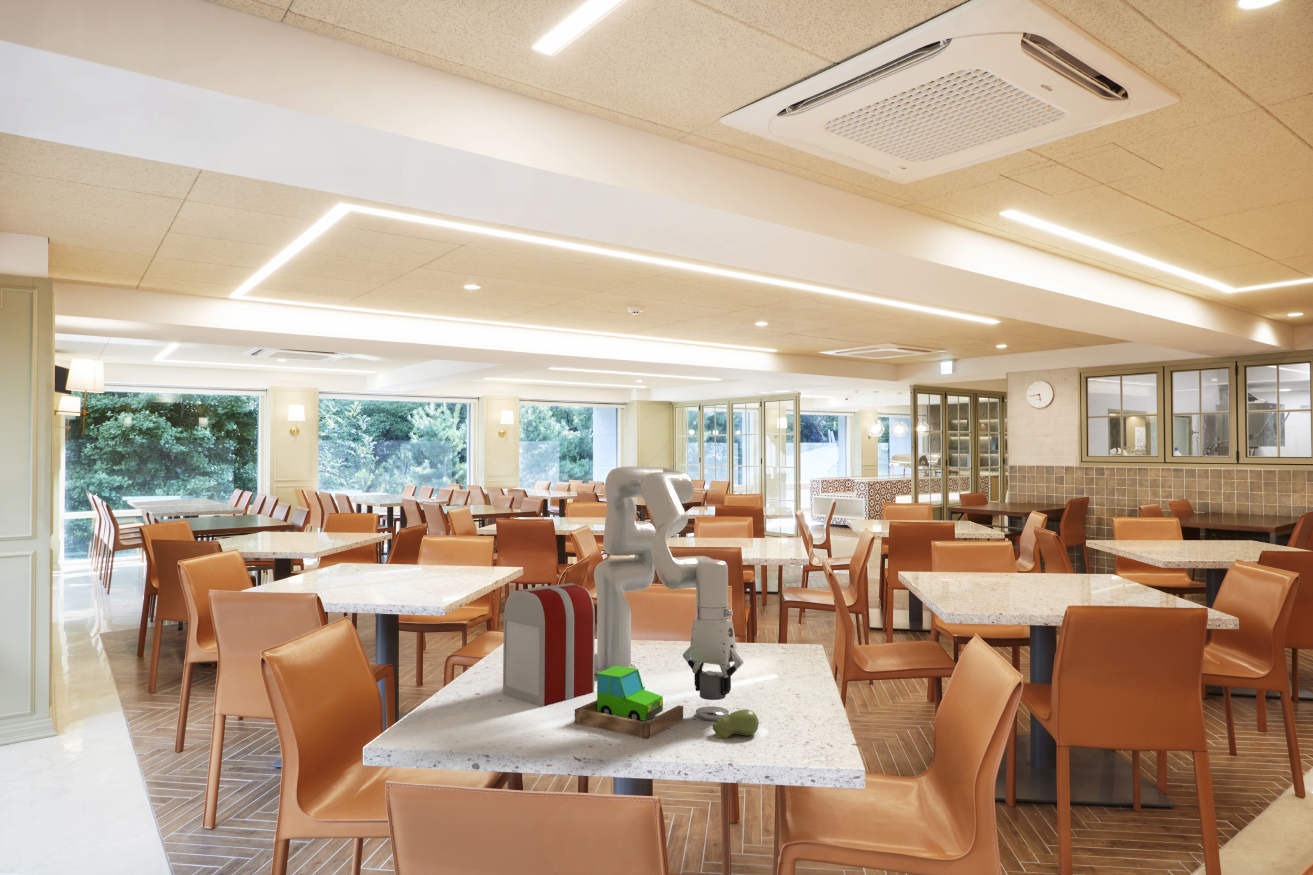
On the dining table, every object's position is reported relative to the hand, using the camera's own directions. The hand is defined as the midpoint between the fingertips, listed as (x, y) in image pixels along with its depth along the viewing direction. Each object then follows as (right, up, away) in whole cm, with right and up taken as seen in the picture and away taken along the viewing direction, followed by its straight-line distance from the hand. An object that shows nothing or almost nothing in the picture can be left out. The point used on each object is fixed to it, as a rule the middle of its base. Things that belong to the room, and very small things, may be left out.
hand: (712, 691), depth 178 cm
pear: (+4, -5, -13) cm, 15 cm away
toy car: (-19, -6, -1) cm, 20 cm away
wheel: (0, -1, 0) cm, 1 cm away
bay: (-19, -5, -4) cm, 20 cm away
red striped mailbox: (-41, -7, +18) cm, 45 cm away
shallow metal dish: (0, -6, 0) cm, 6 cm away
